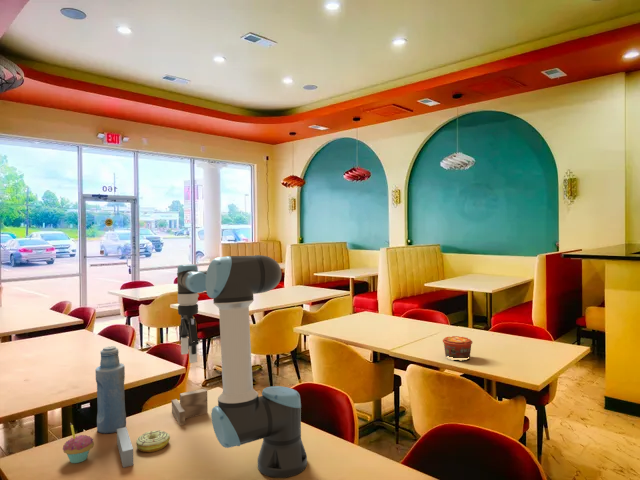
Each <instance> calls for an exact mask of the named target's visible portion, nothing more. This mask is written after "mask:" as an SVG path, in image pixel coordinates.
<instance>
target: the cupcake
mask: <svg viewBox="0 0 640 480" xmlns="http://www.w3.org/2000/svg"><path fill="white" fill-rule="evenodd" d="M69 424H70V430H71V436H72V437H71V438H69V439H67V441H66V442H65V443H64V444H63V447H62V450H63V453H64V454H65V455H67V457H68V460H69V462H70V463H71V464H79V463H82V462H84V461H86V460H87V458H88V455H89V453H90V450H91V449H92V448H93V447H94V445H95V443H94V438H93V437H91V436H90V435H86V434H85V435H84V434H81V435H77V436H76V432H75V428H74V425H73V423H71V422H70V423H69Z"/></svg>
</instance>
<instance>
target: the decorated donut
mask: <svg viewBox="0 0 640 480" xmlns="http://www.w3.org/2000/svg"><path fill="white" fill-rule="evenodd" d="M170 438H171V436H170V433H168V432H166V431H164V430H150V431H147V432H144V433H143V434H141V435H140V436H138V437H137V439H136V443H135V445H136V447H137V449H138V450H139V451H140V452H144V453H151V452H152V453H154V452H159V451H161V450H162V449H164V448H165V447H166V446H167V445H169V442H170Z"/></svg>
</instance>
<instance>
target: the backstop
mask: <svg viewBox="0 0 640 480" xmlns="http://www.w3.org/2000/svg"><path fill="white" fill-rule="evenodd" d="M116 444H117V445H116V446H117V449H118V452H119V456H120V457H119V458H120V461H121V465H122V468H124V469H125V468H128V467H131V466H134V464H135V463H134V447H133V445H132V441H131V438H130V434H129V431H128V429H127V426H125V427H124V428H119V429H117V432H116Z"/></svg>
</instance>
